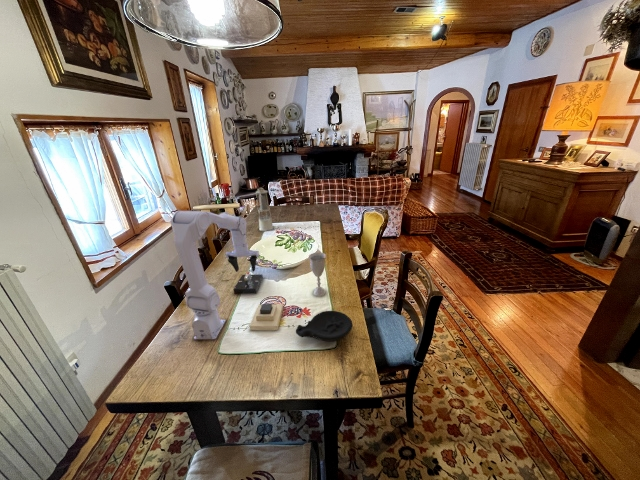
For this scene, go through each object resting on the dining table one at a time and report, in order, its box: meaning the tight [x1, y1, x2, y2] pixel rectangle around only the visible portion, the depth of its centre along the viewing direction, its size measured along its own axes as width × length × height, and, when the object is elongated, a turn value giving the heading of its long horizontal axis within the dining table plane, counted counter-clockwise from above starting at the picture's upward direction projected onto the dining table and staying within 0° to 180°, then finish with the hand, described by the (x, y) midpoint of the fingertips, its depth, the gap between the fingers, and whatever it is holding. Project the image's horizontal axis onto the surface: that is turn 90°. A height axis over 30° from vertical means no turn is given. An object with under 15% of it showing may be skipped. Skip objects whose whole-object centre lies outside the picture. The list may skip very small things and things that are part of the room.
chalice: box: [308, 251, 327, 297], centre depth 106 cm, size 7×7×18 cm
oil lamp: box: [295, 310, 353, 343], centre depth 87 cm, size 15×20×5 cm
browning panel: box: [233, 273, 264, 295], centre depth 117 cm, size 12×10×3 cm
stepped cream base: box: [249, 303, 284, 331], centre depth 96 cm, size 12×10×4 cm
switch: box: [260, 303, 272, 314], centre depth 95 cm, size 4×4×2 cm
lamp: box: [255, 187, 274, 232], centre depth 178 cm, size 10×13×30 cm
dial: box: [244, 271, 252, 284], centre depth 116 cm, size 5×1×4 cm, turn 177°
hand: (245, 270), depth 114 cm, fingers open, 7 cm apart
